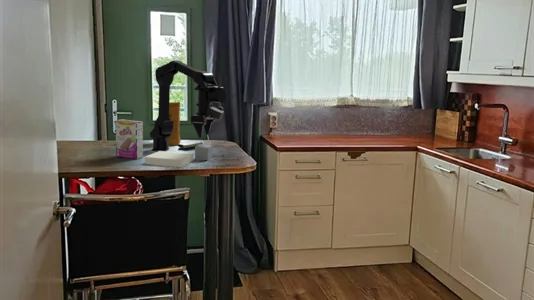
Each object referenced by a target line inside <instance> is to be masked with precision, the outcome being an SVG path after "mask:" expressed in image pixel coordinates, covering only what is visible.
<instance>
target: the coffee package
mask: <svg viewBox="0 0 534 300" xmlns="http://www.w3.org/2000/svg"><path fill="white" fill-rule="evenodd" d="M180 112H181V101H175V102H171V101H170V102H169V117H170V119H171V120H173V128H174V129H173V130H172V132H171V136H170V137H168V140H169V147H170V146H179V145H180V143H181V135H180V123H181V115H180Z"/></svg>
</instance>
